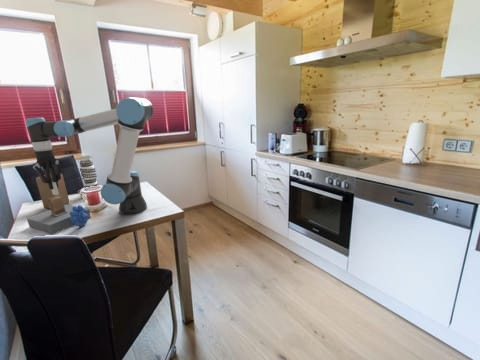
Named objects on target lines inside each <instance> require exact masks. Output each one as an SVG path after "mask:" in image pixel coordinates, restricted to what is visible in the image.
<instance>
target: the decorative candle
mask: <svg viewBox="0 0 480 360" xmlns="http://www.w3.org/2000/svg"><path fill="white" fill-rule="evenodd" d="M78 163H79V167H80V168H79V172H80V176H81V177H82V181H83V184H84V185H83V187H84V189H85V188H86V187H90V186H97V185H98V186H99V183H98V181H97V173H96V172H97V170H96V168H95V165H94V160H93V159H91V158H82V159H81V160H80V161H79V162H78Z"/></svg>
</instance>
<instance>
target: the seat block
mask: <svg viewBox="0 0 480 360" xmlns="http://www.w3.org/2000/svg"><path fill="white" fill-rule="evenodd" d="M74 206H75V205H71V204H66V205H64V207H65V211H66V213H65V214H63V215H60V216H58V217H55V216H52V213H51V209H50V210H46V211H44V212H41V213H38V214H36V215H32V216H30V217H27V218H26V220H27V223H28V226H29V228H30V229H33V230H36V231H41V232H43V233H47V234H50V235H55V234H57V233H59V232H61V231H63V230H66V229H68V228H70V227H73V226H74V225H73V223H74V222H71V221H70V218H71V217H73V216H71V215H70V212H71V211H73V210H72V208H73V207H74ZM84 208H85V207H84ZM85 209H86V210H87V212H86V214H87V215H88V218H87V219H86V220H89V219H91V218H92V216H91V212H90V209H88V208H85Z"/></svg>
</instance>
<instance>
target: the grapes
mask: <svg viewBox="0 0 480 360" xmlns="http://www.w3.org/2000/svg"><path fill="white" fill-rule="evenodd" d="M73 206H74V207H73V208H72V210H73V211H71V212H70V215H71V216H73V217H71V218H70V221H71V222H74V223H73V226H74V227H75V228H77V227H78V228H83V227H84V226H85V224H87V223H88V219H87V218H88V215H87V214H86V212H87V210H86V209H87V208H86V209H85V207H83V205H80V204H79V205H73Z"/></svg>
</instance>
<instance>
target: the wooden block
mask: <svg viewBox="0 0 480 360" xmlns="http://www.w3.org/2000/svg"><path fill="white" fill-rule="evenodd" d="M50 175H51V174H50ZM51 179H52V178H51ZM35 181H36V185H37V188H38V193H39V195H40V198H41V203H42V205H43V206H42V207H43V208H44V209H50V206H49V202H48V199H49V198H52V197H55V196H59V197H62V200H63V203H64V205H66V204H67V205H69V203H70V199H69V194H68V190H67V188H66V183H65V180H64V175H63V174H62V173H61V179H60V180H58V186H59V187H58V188H57V189H58V192H59V194H58V195H53V193H52V190H51V189H49V186H48V183H43V182H42V180H41V178H40V177H39V176H37V177H36V178H35ZM52 182H53V181H52Z"/></svg>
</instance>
